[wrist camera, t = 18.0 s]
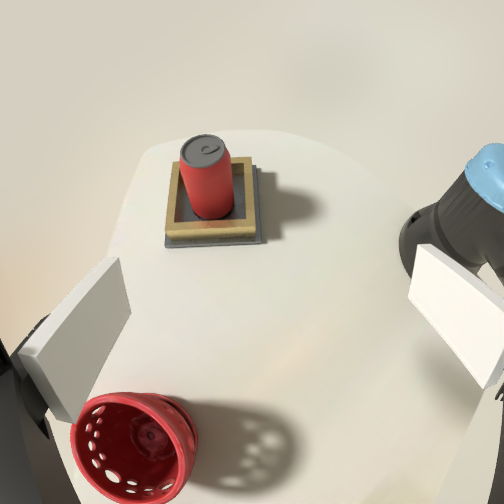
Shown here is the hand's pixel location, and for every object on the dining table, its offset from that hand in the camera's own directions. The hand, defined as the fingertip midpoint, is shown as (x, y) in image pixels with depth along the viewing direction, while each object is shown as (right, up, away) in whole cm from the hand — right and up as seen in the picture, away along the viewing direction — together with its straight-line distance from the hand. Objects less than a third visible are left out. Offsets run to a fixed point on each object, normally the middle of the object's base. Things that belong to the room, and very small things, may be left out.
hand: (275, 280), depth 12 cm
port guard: (-7, +9, +34) cm, 36 cm away
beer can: (-7, +9, +33) cm, 35 cm away
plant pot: (-13, -23, +20) cm, 34 cm away
